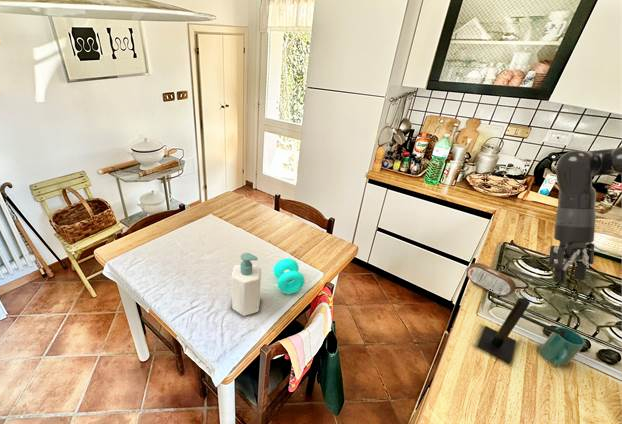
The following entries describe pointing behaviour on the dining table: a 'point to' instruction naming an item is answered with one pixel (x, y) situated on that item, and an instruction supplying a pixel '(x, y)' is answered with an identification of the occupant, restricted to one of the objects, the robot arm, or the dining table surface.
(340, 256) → the dining table surface
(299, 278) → the turquoise dumbbell
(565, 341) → the mug
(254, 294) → the soap bottle
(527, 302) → the mug stand
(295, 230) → the dining table surface
